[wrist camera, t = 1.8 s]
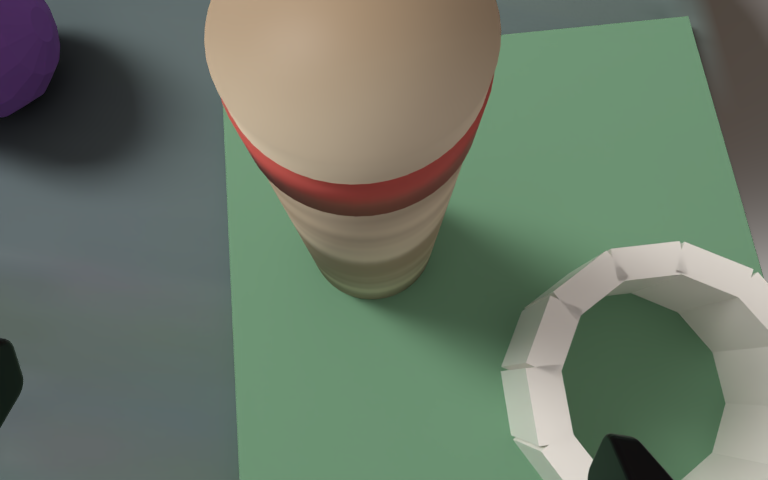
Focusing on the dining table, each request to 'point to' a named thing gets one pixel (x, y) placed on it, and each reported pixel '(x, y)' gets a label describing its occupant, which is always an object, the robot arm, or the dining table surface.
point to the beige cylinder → (357, 119)
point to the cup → (671, 290)
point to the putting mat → (499, 278)
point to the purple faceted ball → (26, 52)
